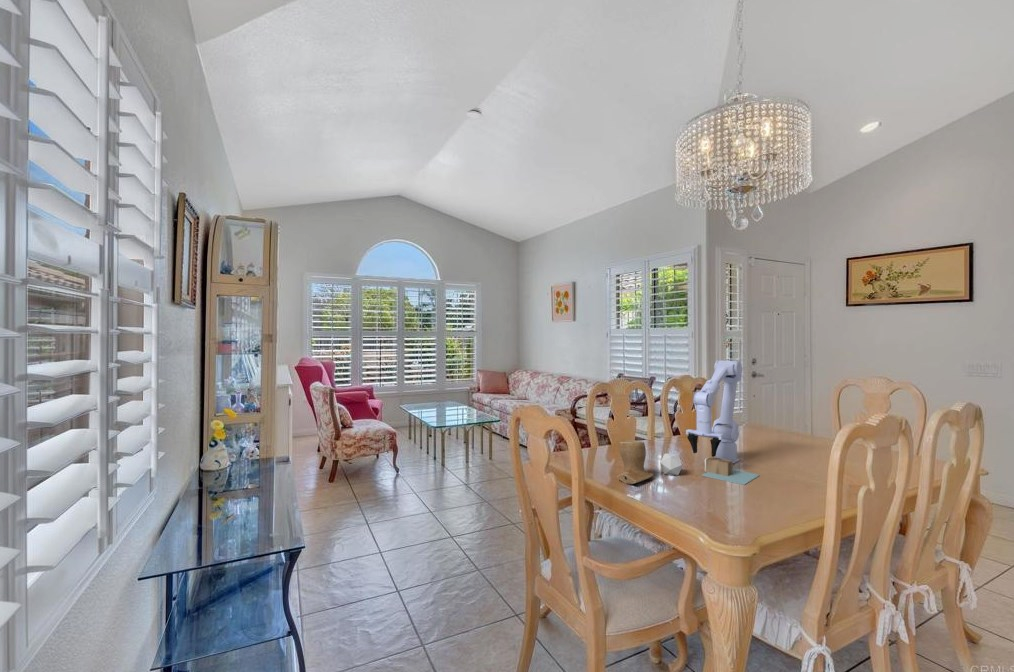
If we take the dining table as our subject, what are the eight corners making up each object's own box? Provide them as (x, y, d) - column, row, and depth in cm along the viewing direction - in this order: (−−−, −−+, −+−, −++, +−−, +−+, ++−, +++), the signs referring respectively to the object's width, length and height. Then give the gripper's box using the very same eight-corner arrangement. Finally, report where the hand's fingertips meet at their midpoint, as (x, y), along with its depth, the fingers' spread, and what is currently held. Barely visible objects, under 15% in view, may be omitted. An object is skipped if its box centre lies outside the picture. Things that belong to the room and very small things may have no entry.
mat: (718, 467, 195) (718, 466, 195) (759, 475, 184) (759, 474, 184) (701, 475, 184) (701, 474, 184) (744, 484, 172) (744, 484, 172)
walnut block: (709, 456, 192) (732, 460, 186) (710, 468, 192) (732, 473, 186) (704, 459, 189) (727, 463, 182) (704, 471, 189) (727, 476, 182)
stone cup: (630, 472, 190) (630, 435, 190) (657, 478, 181) (657, 440, 181) (608, 480, 179) (608, 441, 179) (635, 487, 171) (635, 446, 171)
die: (684, 474, 189) (671, 452, 193) (689, 468, 181) (676, 446, 186) (666, 482, 188) (653, 460, 192) (671, 477, 180) (657, 454, 185)
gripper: (682, 420, 194) (682, 453, 194) (717, 425, 183) (718, 459, 183) (690, 418, 199) (690, 450, 199) (725, 422, 188) (725, 456, 188)
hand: (704, 454), depth 191 cm, fingers open, 7 cm apart
